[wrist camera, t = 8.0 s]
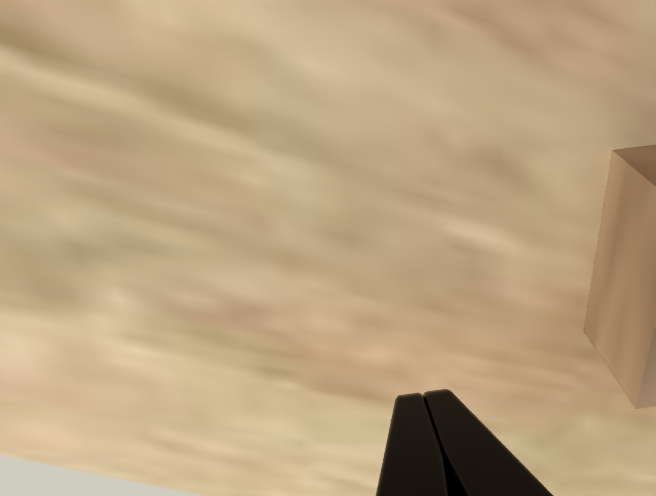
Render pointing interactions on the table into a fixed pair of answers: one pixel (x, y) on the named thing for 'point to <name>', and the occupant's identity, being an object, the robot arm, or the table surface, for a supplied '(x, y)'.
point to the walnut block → (627, 276)
